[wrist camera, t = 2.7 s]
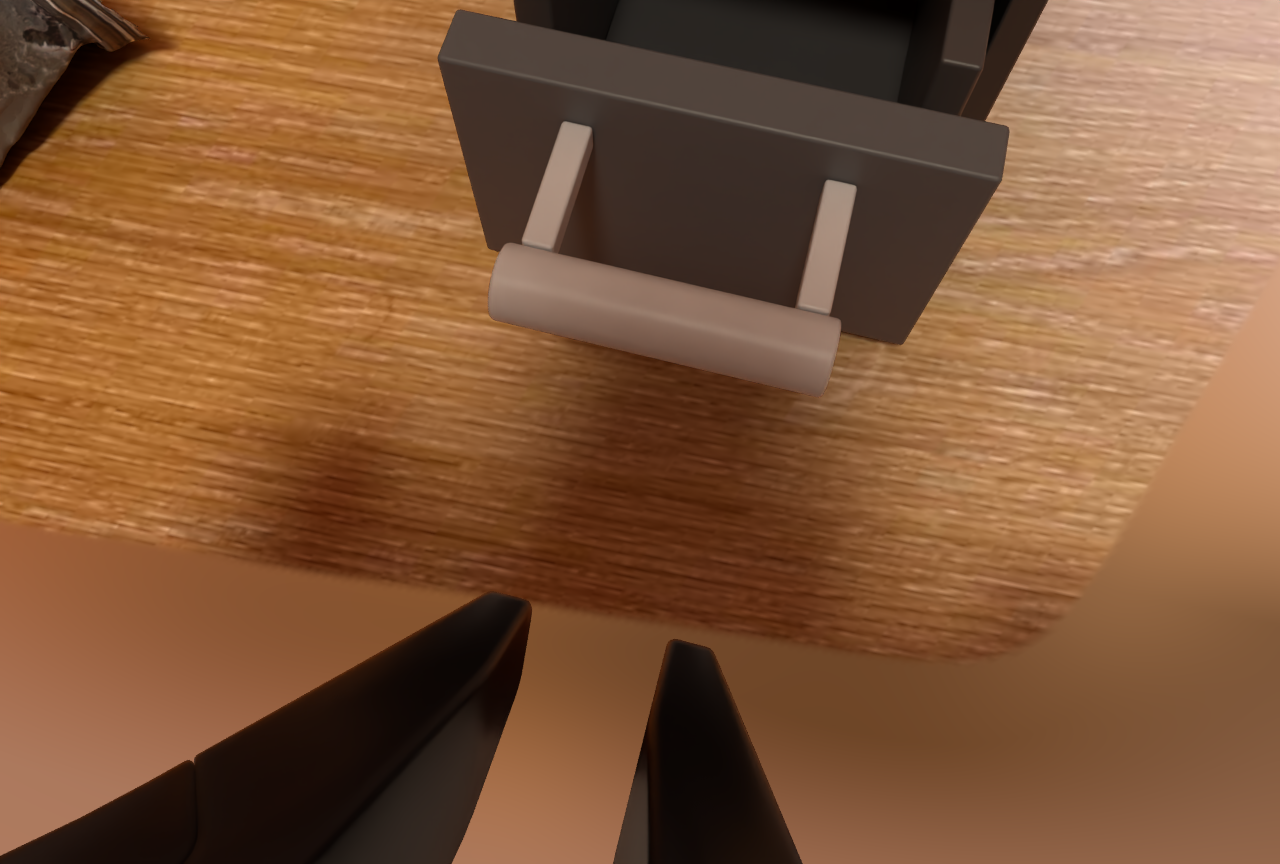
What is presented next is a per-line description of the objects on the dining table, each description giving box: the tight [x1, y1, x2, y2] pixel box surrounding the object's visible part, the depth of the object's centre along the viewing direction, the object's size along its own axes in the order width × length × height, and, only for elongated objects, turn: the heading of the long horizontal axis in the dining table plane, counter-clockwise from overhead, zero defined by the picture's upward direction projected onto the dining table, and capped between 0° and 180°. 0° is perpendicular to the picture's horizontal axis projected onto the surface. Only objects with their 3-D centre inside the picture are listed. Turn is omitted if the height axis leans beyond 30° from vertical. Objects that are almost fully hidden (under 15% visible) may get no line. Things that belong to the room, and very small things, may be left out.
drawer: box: [438, 0, 1009, 397], centre depth 22 cm, size 16×10×7 cm, turn 166°
